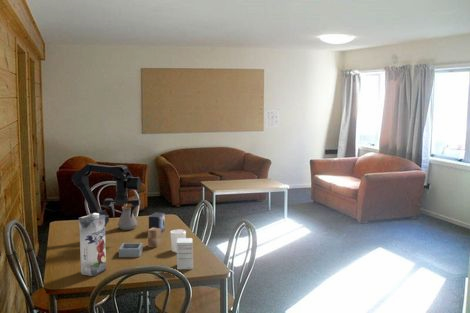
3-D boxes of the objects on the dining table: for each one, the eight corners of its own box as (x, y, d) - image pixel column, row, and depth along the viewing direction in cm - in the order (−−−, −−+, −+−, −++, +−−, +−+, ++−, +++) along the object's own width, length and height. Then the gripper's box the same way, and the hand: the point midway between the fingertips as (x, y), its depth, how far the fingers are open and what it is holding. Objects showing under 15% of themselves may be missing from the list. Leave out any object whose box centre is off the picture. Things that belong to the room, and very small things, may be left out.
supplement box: (177, 264, 235) (176, 237, 233) (193, 263, 235) (192, 237, 234) (176, 269, 227) (176, 242, 226) (193, 269, 228) (192, 242, 226)
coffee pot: (136, 225, 303) (136, 201, 301) (138, 230, 292) (137, 205, 290) (100, 227, 297) (99, 202, 295) (100, 232, 286) (99, 207, 284)
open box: (118, 257, 244) (118, 249, 244) (122, 250, 254) (122, 243, 253) (139, 257, 244) (139, 249, 244) (142, 250, 254) (142, 242, 254)
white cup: (173, 253, 250) (173, 234, 248) (168, 249, 256) (168, 230, 255) (188, 251, 253) (188, 232, 252) (182, 247, 260) (182, 228, 259)
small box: (159, 235, 282) (158, 216, 281) (148, 234, 284) (147, 216, 282) (165, 230, 293) (165, 212, 291) (154, 229, 294) (154, 212, 293)
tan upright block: (148, 246, 261) (147, 229, 260) (152, 244, 266) (152, 227, 264) (156, 247, 259) (156, 230, 258) (161, 245, 264) (160, 228, 263)
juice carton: (77, 275, 220) (75, 214, 216) (92, 267, 229) (90, 209, 226) (94, 277, 217) (92, 216, 213) (109, 270, 226) (107, 211, 223)
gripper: (100, 192, 258) (101, 221, 260) (136, 192, 258) (137, 221, 260) (105, 188, 269) (106, 216, 271) (140, 188, 269) (140, 216, 271)
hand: (122, 217), depth 268 cm, fingers open, 9 cm apart
